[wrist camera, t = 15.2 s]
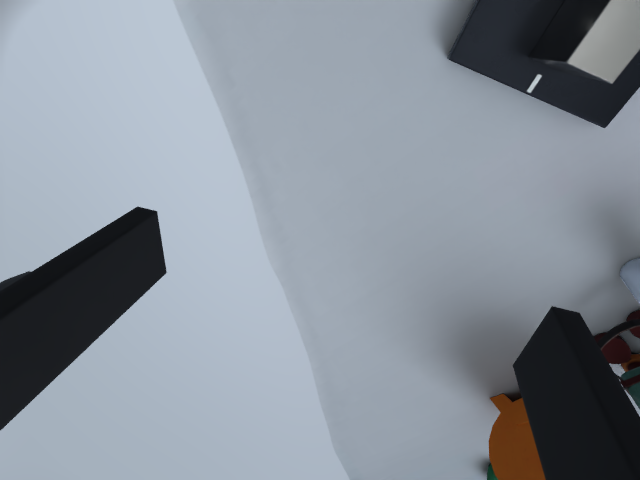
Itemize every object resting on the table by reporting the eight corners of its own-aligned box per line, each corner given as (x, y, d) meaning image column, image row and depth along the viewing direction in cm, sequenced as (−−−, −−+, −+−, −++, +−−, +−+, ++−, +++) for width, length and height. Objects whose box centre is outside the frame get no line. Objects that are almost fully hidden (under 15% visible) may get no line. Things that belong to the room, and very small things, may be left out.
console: (446, 58, 30) (448, 59, 28) (531, -109, 24) (541, -121, 22) (594, 123, 30) (606, 129, 28) (717, -28, 24) (743, -34, 22)
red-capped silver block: (563, 73, 27) (614, 84, 20) (528, 57, 27) (567, 63, 20) (633, -26, 23) (725, -54, 16) (592, -44, 23) (668, -79, 16)
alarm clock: (503, 424, 51) (546, 615, 34) (478, 400, 49) (511, 586, 33) (600, 398, 44) (715, 618, 27) (575, 369, 43) (679, 581, 26)
